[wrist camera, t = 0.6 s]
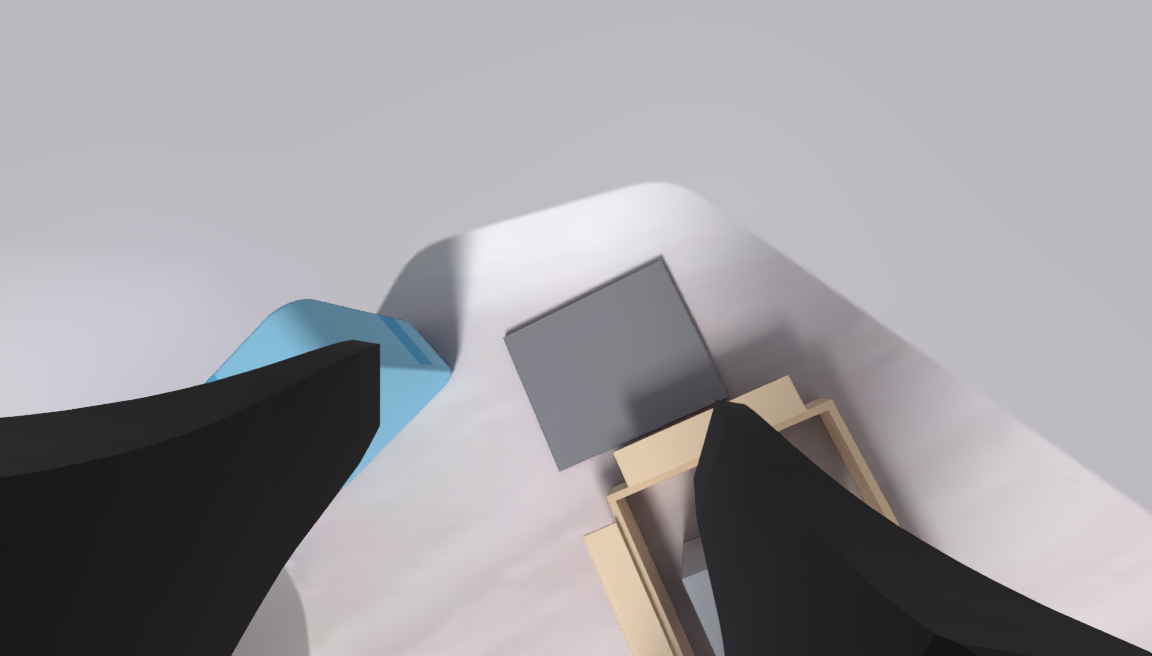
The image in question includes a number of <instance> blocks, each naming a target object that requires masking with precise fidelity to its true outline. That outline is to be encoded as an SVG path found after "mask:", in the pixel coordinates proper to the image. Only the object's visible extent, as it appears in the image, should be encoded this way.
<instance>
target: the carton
mask: <svg viewBox="0 0 1152 656" xmlns="http://www.w3.org/2000/svg"><path fill="white" fill-rule="evenodd" d="M729 402H735V403H742V404H746V405H747V406H748V407H750V408H751V409H752V410H754V411H755V412H756V413H757V414H758V415H760V416H761V417H762V418H763V419H764V420H765V421H766V422H768V423H769V424H770V425H771V426H772V427H773V428H774V429H775V430H777V431H780V430H783V429H785V428H787V427H790V426H792V425H795V424H797V423H799V422H802V421H804V420H806V419H809V418H811V417H813V416H816V415H818V414H819V416H820V418H821V420H822V422H823V424H824V426H825V427H826V429H827V431H828V433H829V435H830V437H831V439H832V441H833V443H834V444H835V446H836V448H837V450H838V452H839V454H840V456H841V458H842V460H843V461H844V463H845V465H846V467H847V469H848V471H849V473H850V475H851V477H852V479H853V480H854V482H855V484H856V486H857V488H858V490H859V492H860V494H861V496H862V497H863V499H864V501H865V503H866V504H867V505H868V506H870V507H871V508H873V509H874V510H876V511H877V512H879V513H880V514H882V515H883V516H885V517H886V518H888V519H889V520H891V521H892V522H894V523H895V524H897V525H898V526H900V525H899V523H898V521H897V519H896V517H895V516H894V514H893V512H892V510H891V508H890V506H889V504H888V503H887V501H886V499H885V497H884V495H883V493H882V491H881V489H880V488H879V486H878V484H877V482H876V480H875V478H874V476H873V475H872V473H871V471H870V469H869V467H868V465H867V463H866V461H865V460H864V458H863V456H862V454H861V452H860V450H859V448H858V447H857V445H856V443H855V441H854V439H853V437H852V435H851V434H850V432H849V430H848V428H847V426H846V424H845V422H844V420H843V419H842V417H841V415H840V413H839V411H838V409H837V407H836V406H835V404H834V402H833V400H832V399H821V398H818V399H816V400H813V401H811V402H809V403H806V404H803V402H802V400H801V398H800V396H799V394H798V392H797V391H796V389H795V387H794V385H793V383H792V381H791V379H790V377H789V375H786V376H784V377H782V378H780V379H777V380H775V381H773V382H771V383H768V384H766V385H764V386H762V387H759V388H757V389H755V390H753V391H750V392H748V393H746V394H744V395H741V396H739V397H737V398H734V399H732V400H730V401H729ZM712 412H713V408H712V409H710V410H707V411H705V412H703V413H701V414H698V415H696V416H694V417H692V418H689V419H687V420H685V421H682V422H680V423H678V424H676V425H673V426H671V427H669V428H667V429H664V430H662V431H660V432H658V433H655V434H653V435H651V436H649V437H646V438H644V439H642V440H640V441H637V442H635V443H633V444H631V445H628V446H626V447H624V448H621V449H619V450H617V451H615V452H613V454H614V456H615V458H616V460H617V463H618V465H619V467H620V469H621V472H622V474H623V476H624V478H625V481H626V482H624V483H621V484H619V485H617V486H614V487H613V488H612V490H611V491H610V492H609V493H608V495H607V496H606V498H607V500H608V503H609V505H610V507H611V510H612V512H613V514H614V516H615V519H616V521H617V522H615V523H612V524H610V525H608V526H605V527H603V528H600V529H598V530H596V531H593V532H591V533H589V534H586V535H584V536H583V540H584V542H585V544H586V547H587V549H588V552H589V554H590V556H591V559H592V561H593V563H594V566H595V568H596V571H597V573H598V575H599V578H600V580H601V583H602V585H603V587H604V590H605V592H606V594H607V597H608V599H609V602H610V604H611V606H612V609H613V611H614V614H615V616H616V618H617V621H618V623H619V625H620V628H621V630H622V633H623V635H624V637H625V640H626V642H627V645H628V647H629V649H630V652H631V654H632V656H695V654H694V651H693V649H692V647H691V645H690V642H689V640H688V638H687V635H686V633H685V631H684V629H683V626H682V624H681V622H680V620H679V617H678V615H677V613H676V611H675V608H674V606H673V604H672V602H671V599H670V597H669V595H668V592H667V590H666V588H665V586H664V583H663V581H662V579H661V577H660V574H659V572H658V570H657V568H656V565H655V563H654V561H653V558H652V556H651V554H650V552H649V549H648V547H647V545H646V543H645V540H644V538H643V536H642V534H641V531H640V529H639V527H638V524H637V522H636V520H635V518H634V515H633V513H632V511H631V509H630V506H629V504H628V502H627V500H626V496H629V495H631V494H633V493H636V492H638V491H640V490H643V489H645V488H647V487H650V486H652V485H654V484H657V483H659V482H661V481H664V480H666V479H668V478H671V477H673V476H675V475H678V474H680V473H682V472H685V471H687V470H689V469H692V468H694V467H696V466H697V465H698V462H699V458H700V454H701V451H702V447H703V444H704V440H705V437H706V433H707V429H708V426H709V422H710V419H711V415H712Z"/></svg>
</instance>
